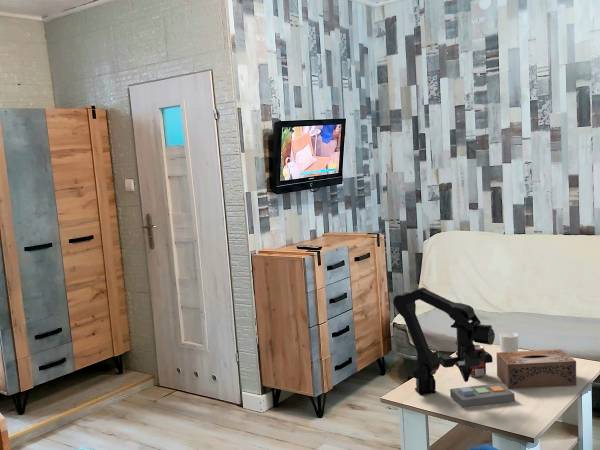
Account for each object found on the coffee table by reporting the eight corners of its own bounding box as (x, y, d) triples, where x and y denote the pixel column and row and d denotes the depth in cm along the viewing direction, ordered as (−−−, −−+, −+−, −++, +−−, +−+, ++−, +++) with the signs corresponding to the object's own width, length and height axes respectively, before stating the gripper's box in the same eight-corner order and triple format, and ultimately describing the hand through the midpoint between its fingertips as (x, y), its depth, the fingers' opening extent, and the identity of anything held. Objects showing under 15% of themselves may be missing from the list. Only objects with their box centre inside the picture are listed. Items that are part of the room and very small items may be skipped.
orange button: (494, 398, 222) (494, 390, 222) (489, 394, 226) (489, 386, 226) (504, 397, 223) (504, 389, 222) (499, 393, 227) (499, 385, 226)
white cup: (501, 359, 264) (501, 337, 263) (498, 353, 272) (498, 332, 271) (520, 359, 263) (520, 337, 262) (517, 353, 271) (516, 332, 270)
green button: (479, 400, 221) (478, 392, 221) (474, 396, 225) (474, 388, 225) (489, 399, 222) (489, 391, 222) (484, 395, 226) (484, 387, 226)
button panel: (462, 408, 217) (462, 400, 216) (450, 396, 228) (450, 388, 227) (514, 401, 220) (514, 393, 219) (500, 390, 231) (499, 383, 230)
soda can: (486, 378, 244) (486, 349, 242) (469, 378, 245) (468, 349, 244) (485, 372, 250) (484, 344, 249) (468, 372, 252) (467, 344, 250)
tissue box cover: (508, 389, 232) (507, 364, 231) (497, 376, 246) (496, 352, 245) (576, 386, 231) (576, 361, 230) (561, 373, 245) (560, 349, 244)
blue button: (463, 399, 220) (463, 391, 220) (459, 395, 224) (458, 387, 224) (473, 398, 221) (473, 390, 221) (469, 394, 225) (469, 386, 225)
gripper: (449, 349, 211) (450, 392, 213) (499, 344, 214) (500, 386, 216) (437, 340, 222) (438, 381, 224) (485, 335, 225) (485, 376, 227)
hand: (465, 381), depth 222 cm, fingers closed
